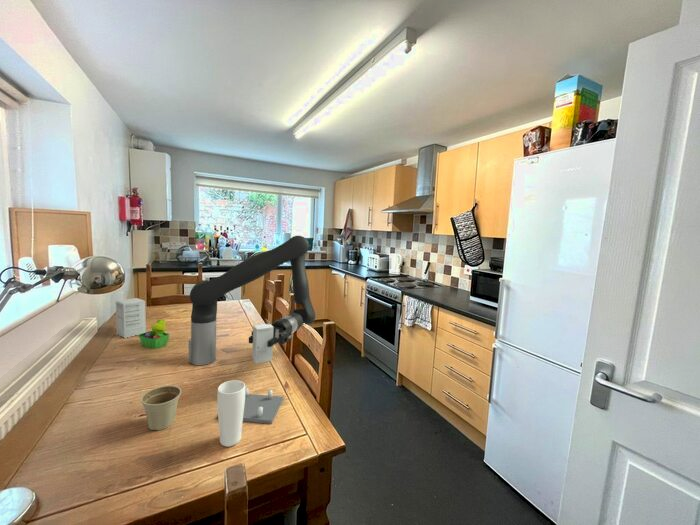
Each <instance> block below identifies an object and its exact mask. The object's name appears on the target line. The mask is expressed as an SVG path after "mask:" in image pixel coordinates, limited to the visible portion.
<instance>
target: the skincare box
mask: <svg viewBox="0 0 700 525" xmlns="http://www.w3.org/2000/svg"><path fill="white" fill-rule="evenodd" d="M252 327H253V328H252V331H253V343H252V348H251V349H252V353H251V356H252V357H251V359H252V361H253V362H254V364H260V363H265V362H269V361H271V362H272V361H273V353H274V352H273V348H274V347H273V346H274V345H273V346H271V347H267V343H268V341H269V340H270V339H272V338H273V330H274V327H273V326H272V323H261V324H254V325H252Z"/></svg>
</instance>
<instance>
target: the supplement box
mask: <svg viewBox="0 0 700 525" xmlns="http://www.w3.org/2000/svg"><path fill="white" fill-rule="evenodd" d="M115 313H116V318H115V319H116V334H117V335H118V334H119V335H118V336H120V337H121V336H122V337H121V338H123V337H124V338H123V339H128V338H130V337H131V336H132V337H136V336H135V335H137V336H138V335H139V334H142V333H146V332H147V331H146V330H147V319H146V318H147V317H146V315H147V314H146V300H143V299H141V298H138V297H134V298H127V299H120V300H116V301H115ZM127 337H128V338H127Z"/></svg>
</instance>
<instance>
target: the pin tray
mask: <svg viewBox="0 0 700 525" xmlns="http://www.w3.org/2000/svg"><path fill="white" fill-rule="evenodd" d="M249 391H250V390H249V387H245V406H244V415H243V422H248V423H260V424H269V425H270V424H273V422H274V420H275V418H276V416H277V414H278V412H279V410H280V408H281V405H282V404H283V402H284V396H278V395H276V396H275V395H273V394H274V393H273V391H274V390H272V389H269V390H267V394H265V395H264V394H254V393H249Z"/></svg>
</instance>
